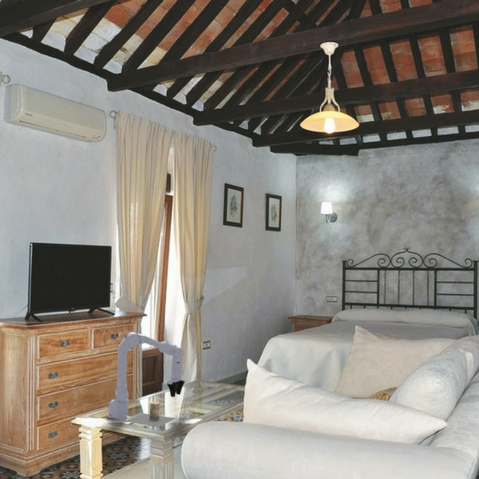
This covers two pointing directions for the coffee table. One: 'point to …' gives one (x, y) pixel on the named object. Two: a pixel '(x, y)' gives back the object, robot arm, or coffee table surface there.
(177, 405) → the coffee table surface
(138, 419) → the mat
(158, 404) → the maple block
